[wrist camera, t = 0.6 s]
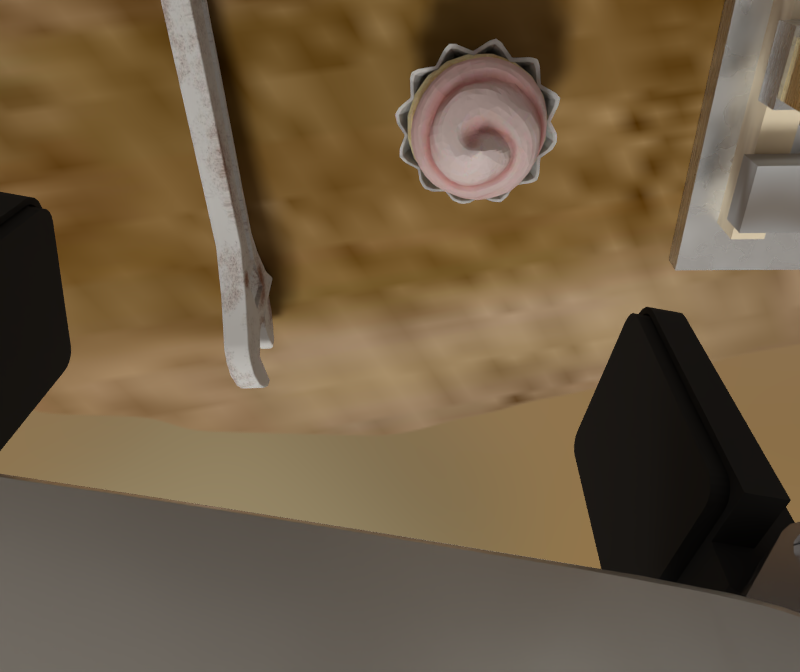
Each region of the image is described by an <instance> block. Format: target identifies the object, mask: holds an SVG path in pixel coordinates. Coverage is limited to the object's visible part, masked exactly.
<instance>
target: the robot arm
mask: <svg viewBox="0 0 800 672" xmlns="http://www.w3.org/2000/svg"><path fill="white" fill-rule="evenodd" d="M70 356H71V345H70V338H69V331H68V324H67V317H66V310H65V303H64V296H63V289H62V282H61V275H60V268H59V261H58V254H57V247H56V240H55V233H54V226H53V220H52V216H51V214H50V212H49V211H48V210H47V209H42V207H41V205H40V203H39V201H38V200H36V199H35V198H32V197H26V196H21V195H15V194H9V193H4V192H0V451H1V449H2V448H3V447H4V446H5V444H6V443H7V442H8V440H9V439H10V438H11V437H12V436H13V434H14V433H15V432H16V430H17V429H18V428H19V427H20V426H21V424H22V423H23V422H24V421H25V419H26V418H27V417H28V416H29V414H30V413H31V412H32V411H33V409H34V408H35V407H36V406H37V404H38V403H39V402H40V401H41V399H42V398H43V397H44V396H45V394H46V393H47V392H48V391H49V390H50V388H51V387H52V386H53V385H54V383H55V382H56V381H57V380H58V378H59V377H60V376H61V375H62V373H63V372H64V371H65V369H66V368H67V366H68V363H69V360H70ZM574 453H575V458H576V462H577V467H578V471H579V475H580V479H581V484H582V488H583V492H584V496H585V501H586V505H587V509H588V513H589V518H590V522H591V526H592V530H593V534H594V539H595V543H596V547H597V552H598V556H599V560H600V564H601V569H597V568H591V567H585V566H579V565H573V564H567V563H561V562H555V561H549V560H543V559H537V558H531V557H525V556H518V555H512V554H506V553H500V552H493V551H488V550H481V549H475V548H469V547H463V546H457V545H451V544H444V543H439V542H433V541H426V540H420V539H414V538H408V537H402V536H396V535H389V534H384V533H377V532H371V531H365V530H359V529H352V528H345V527H340V526H333V525H327V524H321V523H314V522H308V521H302V520H295V519H289V518H283V517H277V516H270V515H264V514H258V513H251V512H245V511H238V510H232V509H226V508H219V507H213V506H207V505H200V504H193V503H187V502H181V501H174V500H168V499H162V498H155V497H148V496H142V495H136V494H129V493H122V492H116V491H109V490H103V489H97V488H90V487H83V486H77V485H70V484H63V483H57V482H50V481H44V480H37V479H31V478H24V477H17V476H10V475H4V474H0V672H800V522H797V523H795V522H794V521H793V519H792V517H791V515H790V514H789V512H788V510H787V508H786V506H787V505H788V503H789V502H790V498H789V496H788V495H787V493H786V491H785V489H784V488H783V486H782V484H781V483H780V481H779V479H778V478H777V476H776V474H775V472H774V470H773V469H772V467H771V465H770V464H769V462H768V460H767V458H766V457H765V455H764V453H763V451H762V450H761V448H760V446H759V444H758V443H757V441H756V439H755V437H754V436H753V434H752V432H751V430H750V429H749V427H748V425H747V423H746V422H745V420H744V418H743V417H742V415H741V413H740V411H739V410H738V408H737V406H736V404H735V403H734V401H733V399H732V397H731V396H730V394H729V392H728V391H727V389H726V387H725V385H724V384H723V382H722V380H721V378H720V377H719V375H718V373H717V372H716V370H715V368H714V366H713V364H712V363H711V361H710V359H709V357H708V356H707V354H706V352H705V351H704V349H703V347H702V345H701V344H700V342H699V340H698V338H697V337H696V335H695V333H694V331H693V330H692V328H691V326H690V324H689V323H688V321H687V319H686V318H685V316H684V315H683V314H682V313H678V312H673V311H667V310H662V309H656V308H650V307H645V308H643V309H642V310H641V312H640V313H639V314H634V313H632V314H630V315H629V317H628V318H627V320H626V322H625V324H624V326H623V328H622V331H621V333H620V335H619V338H618V340H617V342H616V344H615V347H614V349H613V351H612V354H611V356H610V358H609V360H608V363H607V365H606V367H605V370H604V372H603V374H602V376H601V379H600V381H599V383H598V386H597V388H596V390H595V393H594V395H593V397H592V399H591V402H590V404H589V406H588V409H587V411H586V413H585V415H584V418H583V420H582V422H581V425H580V427H579V429H578V431H577V434H576V438H575V444H574Z"/></svg>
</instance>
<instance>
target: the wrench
mask: <svg viewBox="0 0 800 672" xmlns="http://www.w3.org/2000/svg"><path fill="white" fill-rule="evenodd" d="M161 3H162V8H163V12H164V17H165V21H166V26H167V30H168V34H169V39H170V43H171V48H172V52H173V57H174V61H175V66H176V70H177V75H178V79H179V83H180V88H181V92H182V97H183V101H184V106H185V110H186V115H187V119H188V124H189V128H190V132H191V137H192V141H193V146H194V150H195V155H196V159H197V164H198V168H199V172H200V177H201V181H202V186H203V190H204V195H205V199H206V204H207V208H208V213H209V217H210V221H211V226H212V230H213V235H214V239H215V244H216V249H217V258H218V268H219V278H220V287H221V297H222V314H223V331H224V350H225V356H226V362H227V365H228V368H229V372H230V375H231V377H232V378H233V380H234V381H235V383H236V384H237V386H239V387H241V388H264V387H266V386H268V384H269V377H268V375H267V373H266V370H265V368H264V366H263V363H262V361H261V359H260V348H262V349H266V348H272V347H273V343H274V335H273V322H272V312H271V305H270V300H269V291H270V287H271V283H272V277H271V276H270V275H269V274H268V273H267V272H266V271H265V268H264V266H263V264H262V262H261V259H260V257H259V255H258V252H257V249H256V246H255V243H254V240H253V237H252V234H251V229H250V224H249V219H248V214H247V209H246V203H245V198H244V193H243V188H242V183H241V178H240V173H239V167H238V162H237V157H236V151H235V146H234V141H233V136H232V130H231V125H230V120H229V114H228V109H227V104H226V99H225V93H224V88H223V83H222V78H221V73H220V67H219V62H218V57H217V52H216V47H215V41H214V36H213V31H212V26H211V20H210V15H209V10H208V4H207V0H161Z"/></svg>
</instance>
